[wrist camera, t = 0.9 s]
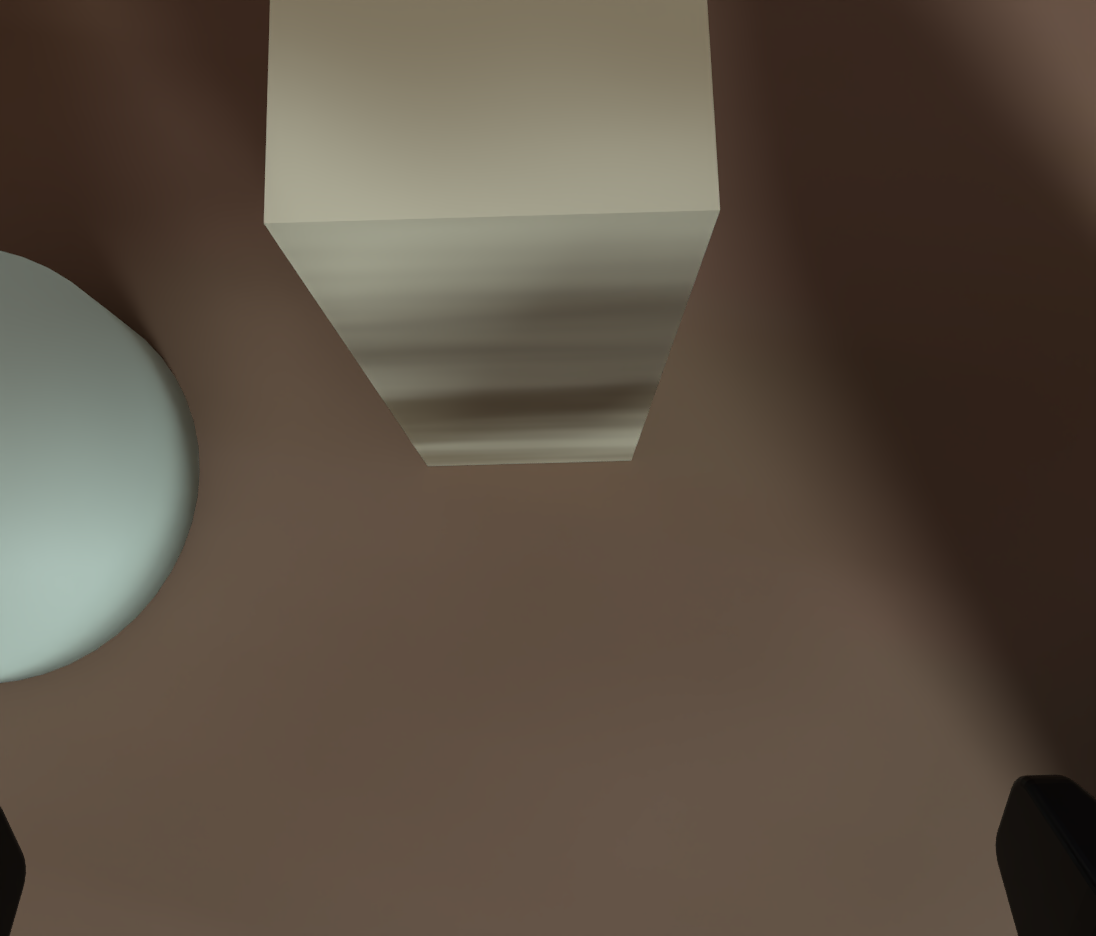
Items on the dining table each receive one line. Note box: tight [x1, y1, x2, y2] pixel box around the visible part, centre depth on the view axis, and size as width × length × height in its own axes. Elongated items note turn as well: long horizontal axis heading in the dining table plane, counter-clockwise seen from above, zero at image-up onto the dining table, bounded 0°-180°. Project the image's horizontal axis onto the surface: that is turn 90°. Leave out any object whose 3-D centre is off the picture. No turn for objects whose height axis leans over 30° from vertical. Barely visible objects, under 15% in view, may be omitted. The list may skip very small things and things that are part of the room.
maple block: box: [264, 0, 720, 466], centre depth 17 cm, size 5×5×13 cm
